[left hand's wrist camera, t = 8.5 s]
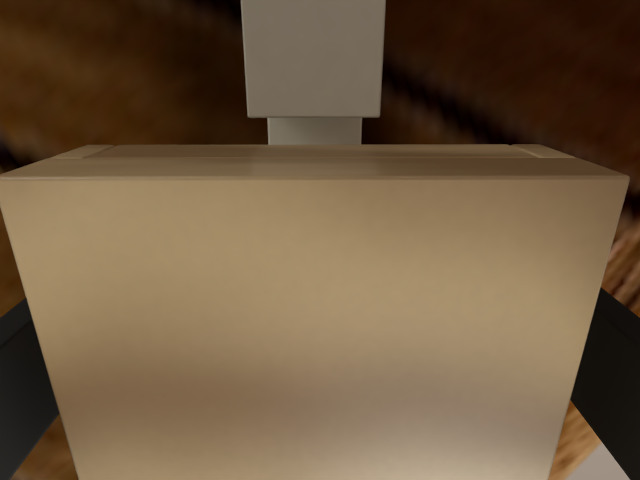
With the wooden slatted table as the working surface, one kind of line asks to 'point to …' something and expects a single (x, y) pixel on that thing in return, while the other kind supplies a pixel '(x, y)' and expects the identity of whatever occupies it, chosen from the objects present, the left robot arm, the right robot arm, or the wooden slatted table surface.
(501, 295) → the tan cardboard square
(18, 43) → the wooden slatted table surface
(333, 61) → the toy wooden mallet
